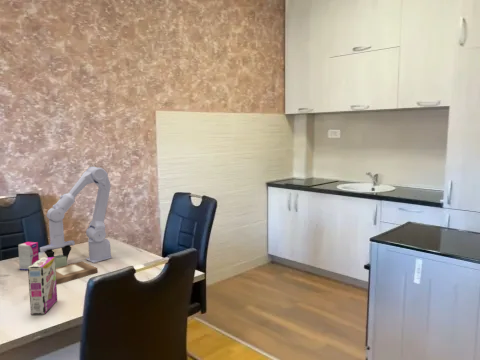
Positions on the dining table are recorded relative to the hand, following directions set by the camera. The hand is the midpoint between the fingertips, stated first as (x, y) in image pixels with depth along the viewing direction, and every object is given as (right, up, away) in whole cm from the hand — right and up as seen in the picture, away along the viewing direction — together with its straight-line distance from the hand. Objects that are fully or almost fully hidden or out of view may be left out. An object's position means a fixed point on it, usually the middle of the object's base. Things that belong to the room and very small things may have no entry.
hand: (59, 264), depth 176 cm
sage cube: (0, -2, 0) cm, 2 cm away
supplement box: (-13, -2, 0) cm, 13 cm away
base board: (+9, -3, -9) cm, 13 cm away
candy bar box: (+14, -7, -40) cm, 43 cm away
